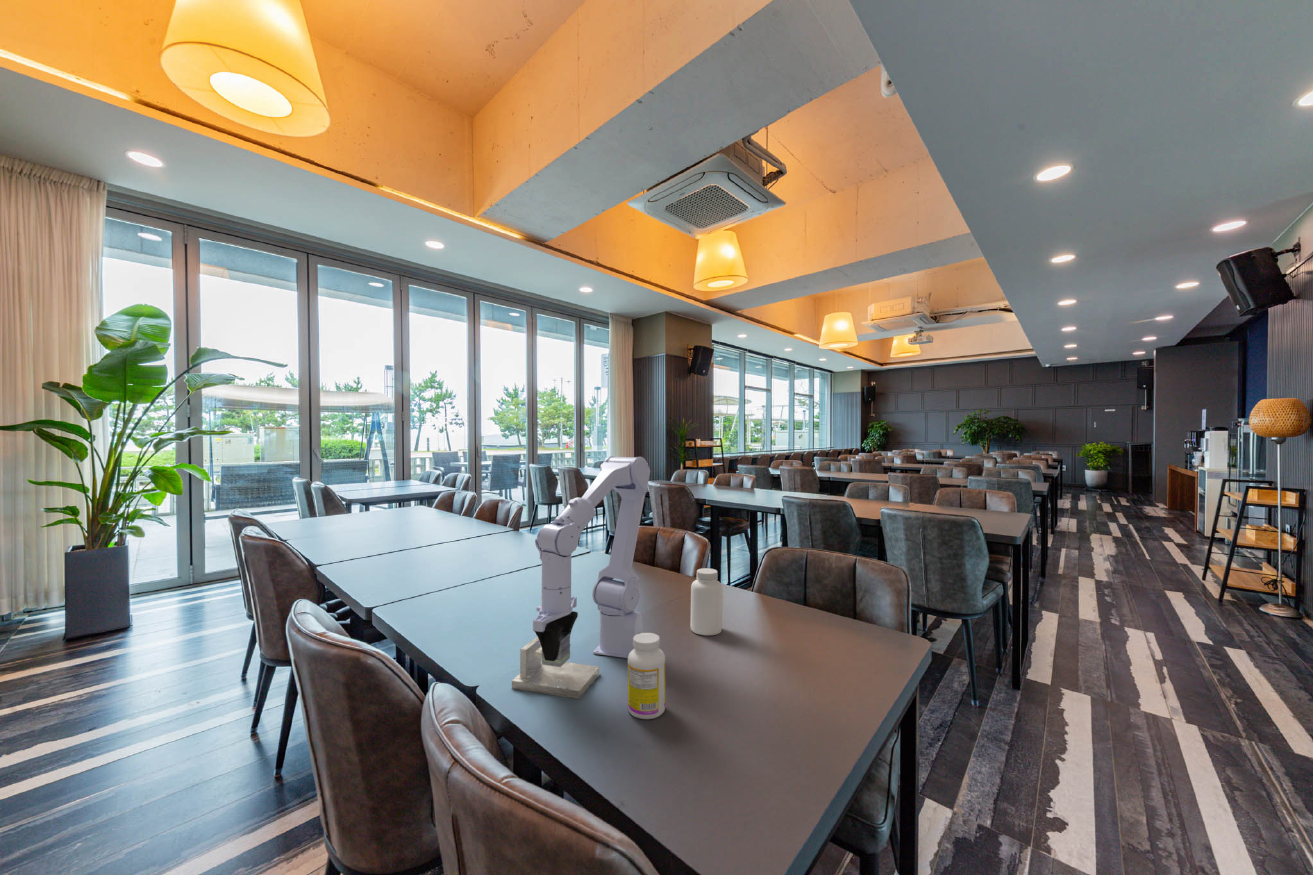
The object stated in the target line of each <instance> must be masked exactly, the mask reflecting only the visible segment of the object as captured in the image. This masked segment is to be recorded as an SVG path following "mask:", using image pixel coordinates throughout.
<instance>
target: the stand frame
mask: <svg viewBox="0 0 1313 875" xmlns="http://www.w3.org/2000/svg"><path fill="white" fill-rule="evenodd" d="M519 653H520V654H519V656H520V657H519V658H520V659H519V660H520V662H519V663H520V665H519V667H520V668H519V674H517V675H516V676H515V677H514V678H513V679H512V680H511V689H513V690H518V691H519V690H520V691H525V692H530V693H531V692H532V693H538V694H543V695H544V694H545V695H550V696H555V697H556V696H557V697H562V698H569V699H574V700H579V699H580V698H581V697H582V696H583V695H584V694H585V692H587V690H588V689H589V688H590V686H592V684H593V683H594V682H595V681H596V680H597V678H598V677H599V676H600V674H601V671H600V668H601V667H600V666H598V665H597V666H596V665H590V664H582V663H575V662H570V661H569V662H568V661H566V662H565V663H564V664H563V665H562V666H561V667H556V666H549V665H542V661H541V658H542V647H541V643H540V641H539V638H538V636H536V637H534V638H533V639H532V640H530V641H529V642H528V643H526V645H523V647H521V648H520V650H519Z"/></svg>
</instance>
